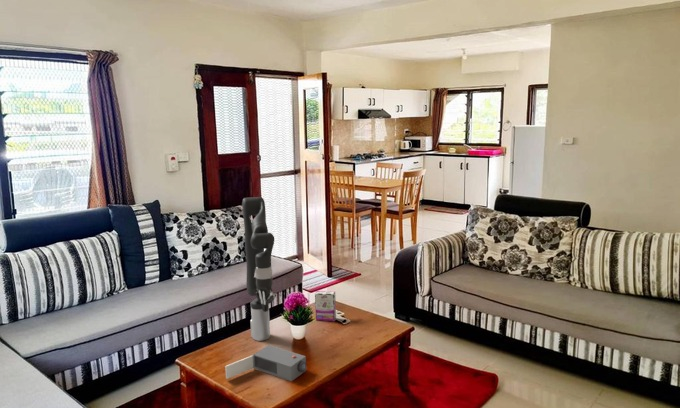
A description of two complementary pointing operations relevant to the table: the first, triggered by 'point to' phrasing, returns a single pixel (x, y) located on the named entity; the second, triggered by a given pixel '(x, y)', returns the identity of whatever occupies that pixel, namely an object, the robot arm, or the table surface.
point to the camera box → (280, 362)
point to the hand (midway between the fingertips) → (265, 311)
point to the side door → (239, 366)
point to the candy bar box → (325, 305)
